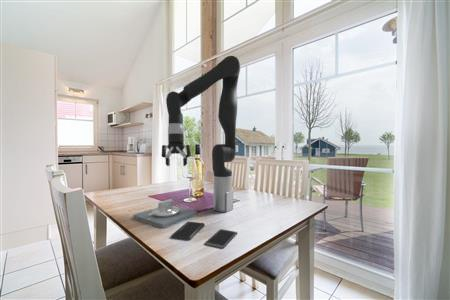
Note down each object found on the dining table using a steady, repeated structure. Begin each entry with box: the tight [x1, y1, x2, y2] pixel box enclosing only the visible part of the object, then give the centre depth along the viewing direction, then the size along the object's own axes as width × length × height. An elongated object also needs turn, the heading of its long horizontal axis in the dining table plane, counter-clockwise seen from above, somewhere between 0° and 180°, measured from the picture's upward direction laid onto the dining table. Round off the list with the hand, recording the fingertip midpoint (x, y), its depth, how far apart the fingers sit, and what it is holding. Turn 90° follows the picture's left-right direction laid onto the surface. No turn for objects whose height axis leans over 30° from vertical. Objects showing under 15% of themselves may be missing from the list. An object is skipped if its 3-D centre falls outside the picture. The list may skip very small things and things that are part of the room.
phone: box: [170, 221, 206, 242], centre depth 84 cm, size 8×1×15 cm
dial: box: [148, 198, 179, 218], centre depth 98 cm, size 16×12×6 cm
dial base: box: [132, 205, 198, 229], centre depth 100 cm, size 20×20×2 cm
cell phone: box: [203, 228, 238, 250], centre depth 78 cm, size 7×14×1 cm, turn 156°
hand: (176, 165), depth 109 cm, fingers open, 8 cm apart
